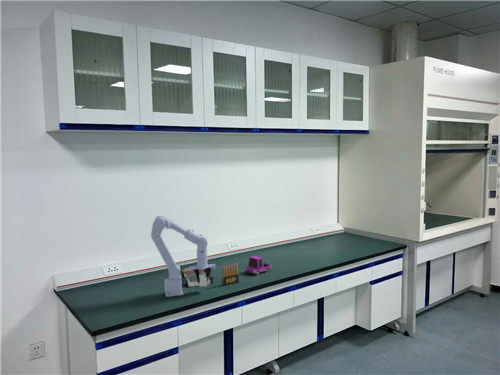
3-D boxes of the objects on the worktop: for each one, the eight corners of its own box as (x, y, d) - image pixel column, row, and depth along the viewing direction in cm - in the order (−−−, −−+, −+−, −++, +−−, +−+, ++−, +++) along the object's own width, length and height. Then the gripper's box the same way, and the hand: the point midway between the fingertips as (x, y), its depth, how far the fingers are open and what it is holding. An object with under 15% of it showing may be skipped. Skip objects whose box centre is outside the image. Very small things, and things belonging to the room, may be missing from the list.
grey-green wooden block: (199, 286, 226) (199, 277, 225) (198, 283, 230) (198, 275, 230) (207, 285, 227) (206, 277, 226) (205, 283, 231) (205, 274, 231)
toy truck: (244, 273, 263) (243, 257, 262) (260, 267, 274) (260, 253, 273) (256, 276, 255) (256, 260, 254) (272, 270, 267) (272, 255, 266)
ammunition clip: (237, 281, 246) (236, 262, 244) (238, 282, 244) (238, 262, 243) (221, 285, 240) (221, 265, 238) (223, 286, 238) (223, 265, 237)
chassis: (185, 287, 236) (185, 279, 235) (179, 275, 259) (179, 267, 259) (213, 284, 241) (213, 276, 240) (205, 272, 264) (205, 264, 264)
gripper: (190, 261, 221) (190, 285, 222) (216, 258, 225) (216, 282, 227) (188, 257, 228) (188, 281, 229) (213, 255, 232) (214, 278, 233)
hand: (202, 281), depth 228 cm, fingers closed on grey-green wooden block, 4 cm apart
